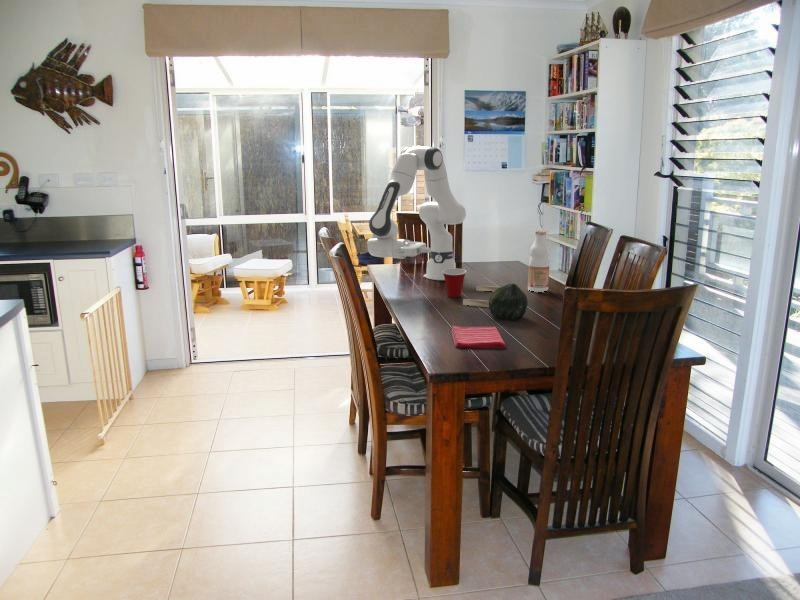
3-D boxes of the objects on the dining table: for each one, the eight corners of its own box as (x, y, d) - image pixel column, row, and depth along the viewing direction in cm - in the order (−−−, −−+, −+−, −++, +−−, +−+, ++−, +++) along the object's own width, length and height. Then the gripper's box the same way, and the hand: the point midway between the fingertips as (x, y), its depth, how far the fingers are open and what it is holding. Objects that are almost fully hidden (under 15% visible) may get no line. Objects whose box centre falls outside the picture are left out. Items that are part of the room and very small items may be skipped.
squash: (486, 298, 262) (491, 276, 249) (523, 300, 261) (530, 278, 249) (487, 327, 253) (492, 306, 241) (525, 329, 253) (532, 308, 241)
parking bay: (476, 290, 303) (476, 285, 302) (516, 293, 297) (516, 287, 297) (462, 305, 274) (462, 299, 273) (506, 308, 268) (506, 302, 268)
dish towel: (455, 350, 214) (455, 342, 213) (450, 330, 237) (450, 324, 236) (506, 350, 214) (507, 342, 213) (496, 331, 237) (496, 324, 236)
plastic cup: (438, 297, 287) (439, 271, 285) (445, 293, 297) (446, 267, 294) (462, 299, 284) (463, 273, 281) (468, 294, 294) (469, 269, 291)
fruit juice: (523, 290, 304) (526, 231, 297) (537, 287, 309) (540, 229, 302) (537, 293, 296) (541, 233, 290) (552, 291, 301) (555, 231, 295)
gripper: (394, 244, 283) (424, 246, 279) (407, 239, 302) (436, 240, 298) (394, 258, 284) (424, 260, 280) (407, 252, 303) (435, 254, 299)
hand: (430, 250), depth 289 cm, fingers closed
